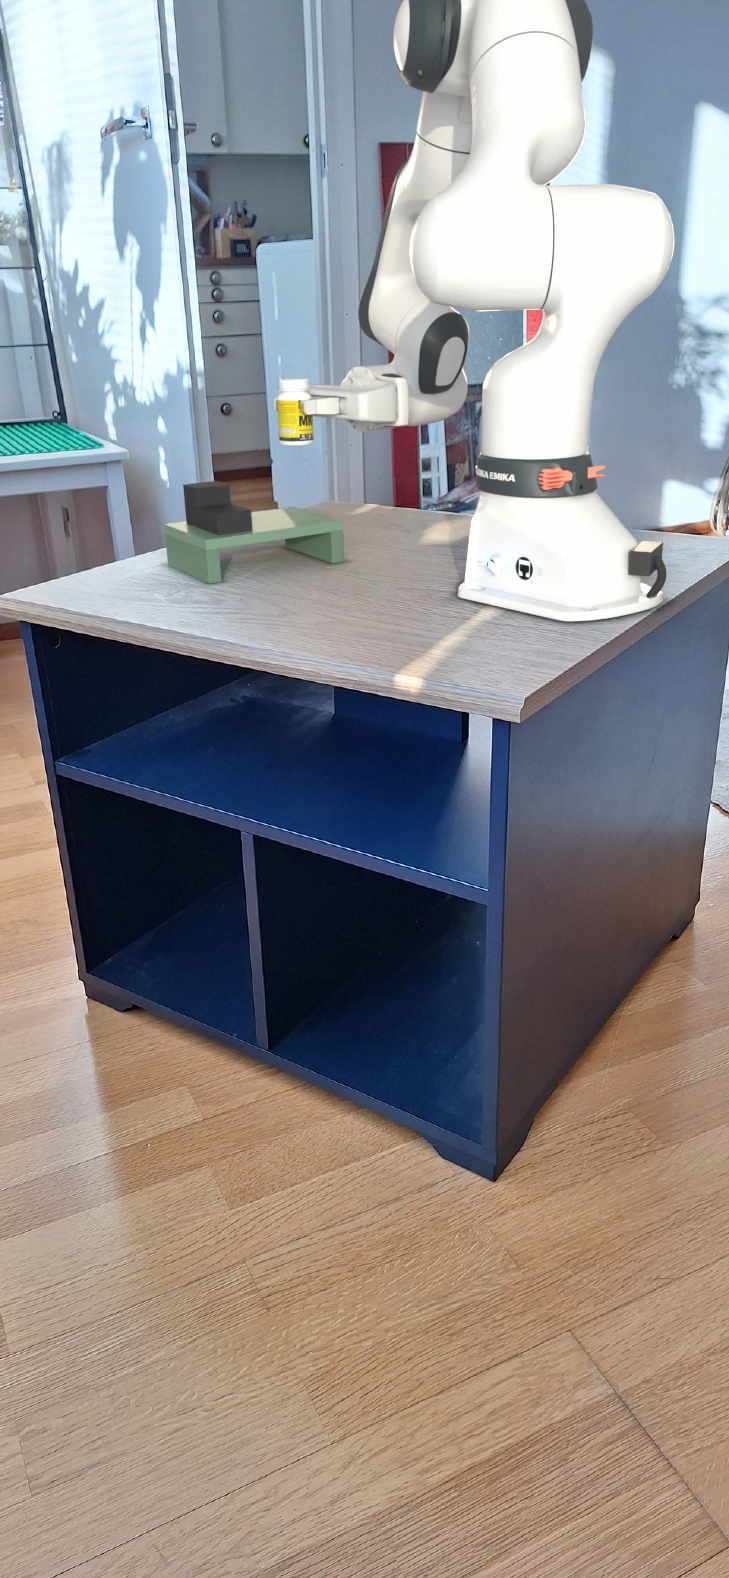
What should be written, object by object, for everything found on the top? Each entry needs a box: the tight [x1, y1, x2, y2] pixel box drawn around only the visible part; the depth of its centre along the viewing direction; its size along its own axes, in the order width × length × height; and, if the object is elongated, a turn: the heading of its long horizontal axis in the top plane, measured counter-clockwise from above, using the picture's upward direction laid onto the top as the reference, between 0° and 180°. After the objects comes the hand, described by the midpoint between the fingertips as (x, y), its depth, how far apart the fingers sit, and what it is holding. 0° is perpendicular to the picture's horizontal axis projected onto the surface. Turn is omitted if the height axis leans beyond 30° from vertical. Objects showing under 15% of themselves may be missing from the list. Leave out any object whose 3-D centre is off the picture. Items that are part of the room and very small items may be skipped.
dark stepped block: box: [182, 480, 252, 535], centre depth 131 cm, size 9×4×5 cm, turn 32°
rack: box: [163, 506, 344, 585], centre depth 135 cm, size 12×18×5 cm, turn 122°
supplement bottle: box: [276, 378, 315, 447], centre depth 152 cm, size 5×5×8 cm
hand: (289, 406), depth 151 cm, fingers closed on supplement bottle, 5 cm apart
